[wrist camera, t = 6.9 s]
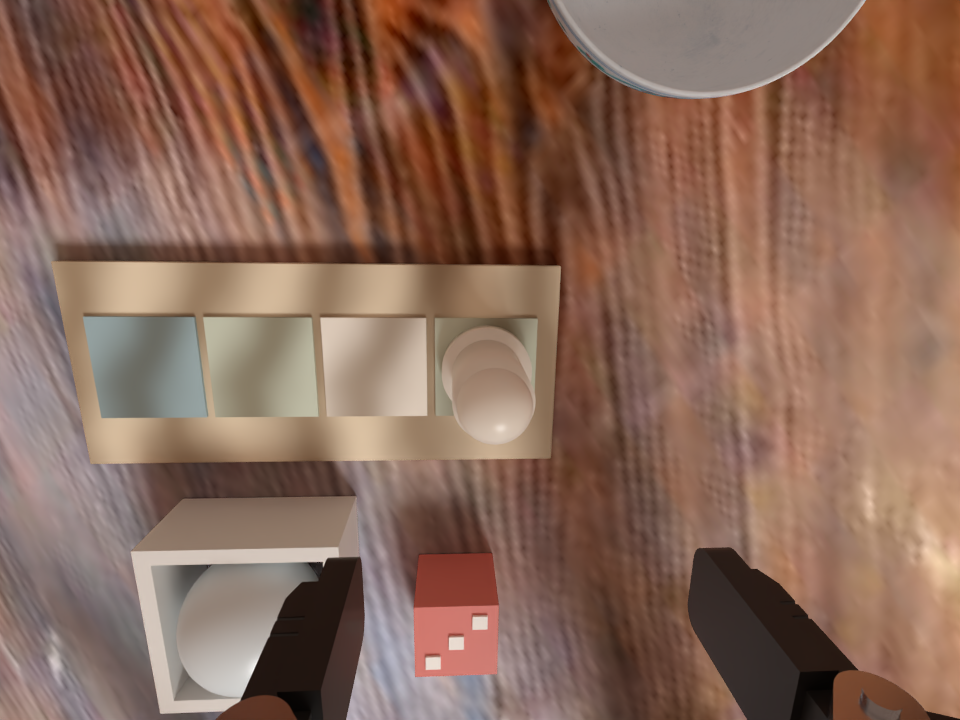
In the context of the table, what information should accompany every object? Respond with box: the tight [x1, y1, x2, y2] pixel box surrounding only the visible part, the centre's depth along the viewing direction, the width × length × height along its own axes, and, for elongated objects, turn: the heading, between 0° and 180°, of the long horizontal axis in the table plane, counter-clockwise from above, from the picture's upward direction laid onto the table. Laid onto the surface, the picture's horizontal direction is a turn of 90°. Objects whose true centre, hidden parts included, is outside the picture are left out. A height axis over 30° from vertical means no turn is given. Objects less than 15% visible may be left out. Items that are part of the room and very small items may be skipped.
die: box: [414, 553, 499, 677], centre depth 33 cm, size 5×5×5 cm
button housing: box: [131, 496, 364, 714], centre depth 32 cm, size 11×11×6 cm
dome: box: [176, 562, 319, 697], centre depth 30 cm, size 8×8×8 cm
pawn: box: [442, 325, 536, 445], centre depth 26 cm, size 5×5×8 cm
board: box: [51, 260, 561, 464], centre depth 30 cm, size 28×12×1 cm, turn 89°
